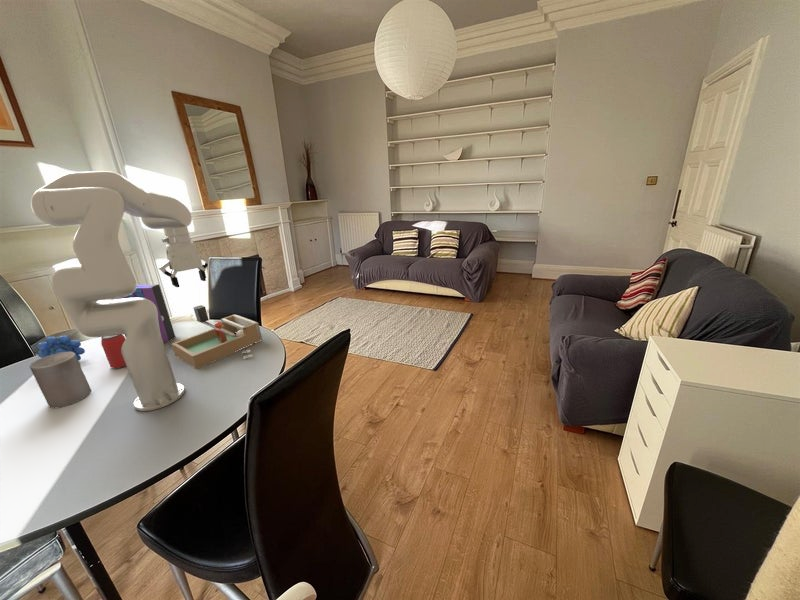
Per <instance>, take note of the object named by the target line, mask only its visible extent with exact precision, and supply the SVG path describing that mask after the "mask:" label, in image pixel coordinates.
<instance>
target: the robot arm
mask: <svg viewBox="0 0 800 600" xmlns="http://www.w3.org/2000/svg"><path fill="white" fill-rule="evenodd" d="M30 207H31V210H32V212H33V214H34V215H35V216H36V217H37V219H39V220H40V221H41V222H43V223H45V224H48V225H50V226H55V227H67V226H79V227H78V229H77V231H76V233H75V235H74V238H73V241H72V249H73V252H74V254H75V256H76V258H77V261H78V262H79V263H77V264H70V265H69V264H68V265H65V266H61V267H60V268H58V269H57V270H55V272H54V274H53V275H52V278H51V287H52V291H53V293H54V295H55V298H57V301H58V302H59V304H60V306H61V307H62V308H63V311H64V312H65V313H66V314H67V316H68V317H69V320H70V321H71V323H72V324H73V326H74V327H75V328H76V330H77V331H78V332H79V333H80V334H81V335H83V336H86V337H87V338H101V337H103V336H111V335H121V334H122V335H124V336H125V335H126V337H125V341H124V343H123V345H122V348H121V352H122V356H123V358H124V361H125V363H126V366H125V367H126V368H127V372H128V373H129V376H130V380H131V381H132V384H133V386H134V389H135V392H136V394H137V397H136V398H135V400H134V401H133V407H134V409H135V410H137V411H141V412H149V411H154V410H158V409H161V408H165V407H166V406H168V405H171V404H173V403H174V402H176V401H177V400H179V399H180V398H181V397H182V396H183V395H184V393H185V392H186V389H185V386H184V384H182V383H180V382H179V383H178V382H177V381H176V378H175V375H174V371H173V369H172V365H171V362H170V359H169V357H168V353H167V350H166V347H165V344H164V342H163V340H162V337H161V333H160V329H159V322H158V312H157V308H156V306H155V304H154V303H153V302H152V301H150V300H148V299H145V298H125V299H116V300H112V299H115V298H121V297H126V296H128V295H131V294H132V293H134V291H135V290H136V285H137V281H136V278H135V275H134V274H133V271H132V269H131V267H130V265H129V263H128V260H127V259H126V256H125V253H124V252H123V249H122V246H121V245H120V242H119V232H120V227H121V224H122V220H123V218H124V214H125V213H126V214H127V215H130V216H133V217H137V218H140V219H141V222H142V223H143V225H145V227H147V228H149V229H152V230H162V229H163V233H164V238H162V239H161V242H162V243H165V244H166V245H165V251H166V259H167V261H165V262H164V263H163V264H161V265H160V266H159V267H158V269H159V270H160V271H161V272H162V274H164V275H165V276H167V277H169V278H170V281H171V284H172V286H174V287H175V288H180V283H179V280H178V277H177V276H176V275H177V273H178V272H184V271H189V270H194V269H198V275H199V278H200V281H202V282H206V281H207V279H206V278H207V276H206V272H205V271H206V269H207V268H208V266H209V263H210V258H208V257H204V256H200V253H199V251H198V249H197V245H196V244H195V242H194V241H192V240H191V236H190V233H189V229H188V226H190V225H191V224H192V220H193V217H192V214H191V212H190V210H189V208H188V207H187V206H186V205H185V204H184V203H182V202H181V201H179V200H178V199H176V198H175V197H171V196H167V195H164V194H159V193H156V192H152V191H147V190H144V189H143V188H141V187H140V186H138V185H137V184H136V183H133V181H131V180H129V179H128V178H126V177H125V176H123V175H121V174H120V173H117V172H114V171H110V170H108V171H107V170H98V171H97V170H96V171H76V172H74V171H73V172H69V173H66V174H63V175H61V176H59V177H57V178H56V179H54V180H51V181H50V182H49V183H47V184H46V185H44V186H42V187H40V188H39V189H37V190H36V191H35V192H34V193H33V195H32V196H31V199H30ZM202 261H203V262H202ZM166 268H169V270H170V271H167V269H166Z"/></svg>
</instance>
